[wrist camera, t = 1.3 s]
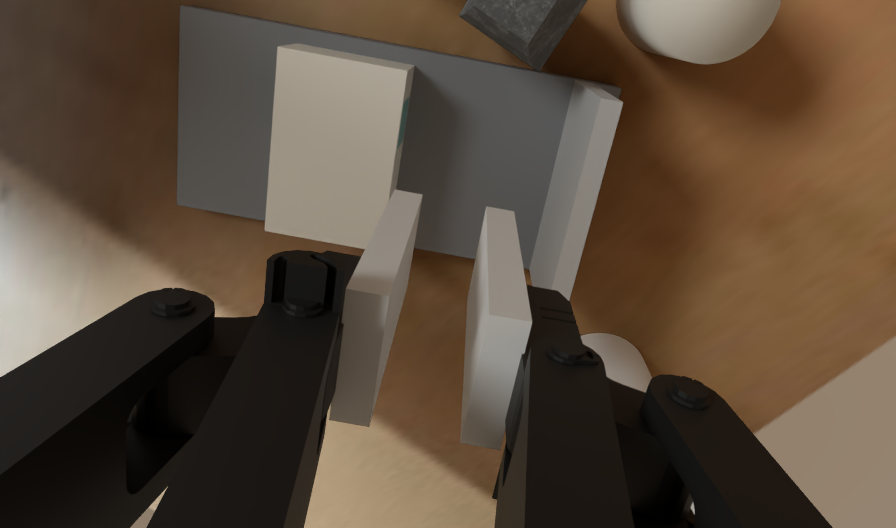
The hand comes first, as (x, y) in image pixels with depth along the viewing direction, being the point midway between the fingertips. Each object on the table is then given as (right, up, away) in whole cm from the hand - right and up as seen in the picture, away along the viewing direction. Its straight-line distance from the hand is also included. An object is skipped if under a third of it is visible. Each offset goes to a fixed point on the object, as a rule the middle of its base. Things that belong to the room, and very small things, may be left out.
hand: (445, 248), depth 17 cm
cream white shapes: (+15, +17, +25) cm, 34 cm away
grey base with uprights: (-4, +8, +30) cm, 31 cm away
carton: (-7, +8, +28) cm, 30 cm away
